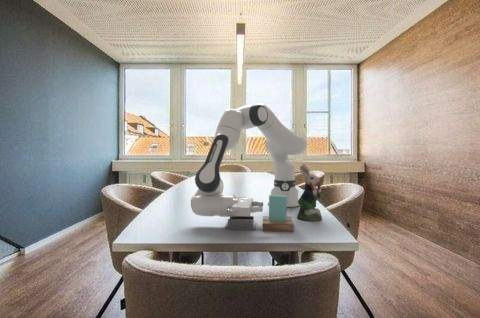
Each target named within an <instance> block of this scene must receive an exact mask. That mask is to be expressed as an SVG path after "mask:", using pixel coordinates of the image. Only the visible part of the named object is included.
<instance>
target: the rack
mask: <svg viewBox="0 0 480 318" xmlns="http://www.w3.org/2000/svg"><path fill="white" fill-rule="evenodd" d="M254 217H255V216H254V215H250V216H235V215H234V217H229V218H228V219H227V222H226V223H225V225H224V229H225V230H242V231H243V230H246V231H247V230H248V231H256V227H257V226H256V225H257V221H255V220H254Z"/></svg>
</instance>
